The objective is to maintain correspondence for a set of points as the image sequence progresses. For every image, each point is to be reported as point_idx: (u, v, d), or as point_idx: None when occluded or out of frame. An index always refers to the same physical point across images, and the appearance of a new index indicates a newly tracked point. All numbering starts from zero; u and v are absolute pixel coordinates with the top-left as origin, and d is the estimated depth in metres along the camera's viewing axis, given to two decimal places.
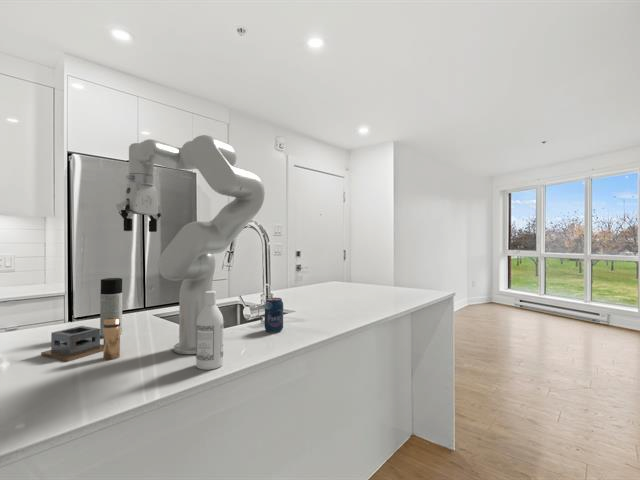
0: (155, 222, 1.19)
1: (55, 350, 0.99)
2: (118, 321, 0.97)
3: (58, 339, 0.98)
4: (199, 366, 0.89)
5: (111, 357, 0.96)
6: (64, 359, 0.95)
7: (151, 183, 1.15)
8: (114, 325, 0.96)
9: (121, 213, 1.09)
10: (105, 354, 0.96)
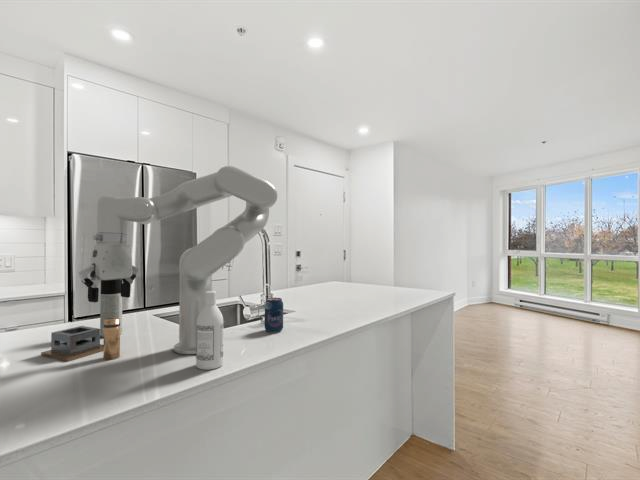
0: (128, 286, 1.01)
1: (55, 350, 0.99)
2: (118, 321, 0.97)
3: (58, 339, 0.98)
4: (199, 366, 0.89)
5: (111, 357, 0.96)
6: (64, 359, 0.95)
7: (123, 243, 0.97)
8: (114, 325, 0.96)
9: (84, 282, 0.91)
10: (105, 354, 0.96)
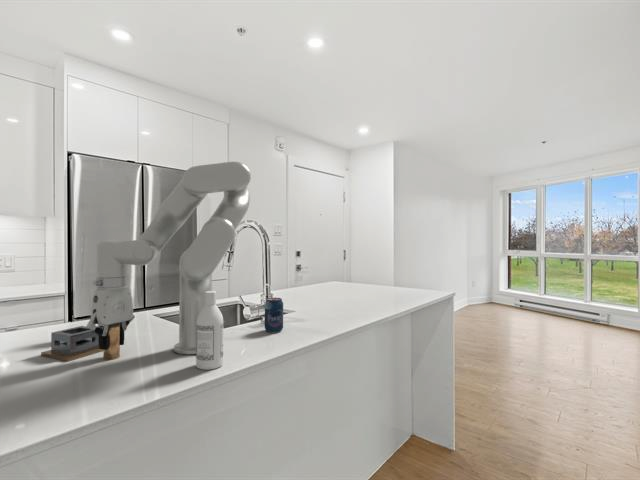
0: (122, 334, 0.99)
1: (55, 350, 0.99)
2: None
3: (58, 339, 0.98)
4: (199, 366, 0.89)
5: (111, 357, 0.96)
6: (64, 359, 0.95)
7: (124, 286, 0.97)
8: (114, 325, 0.96)
9: None
10: (105, 354, 0.96)
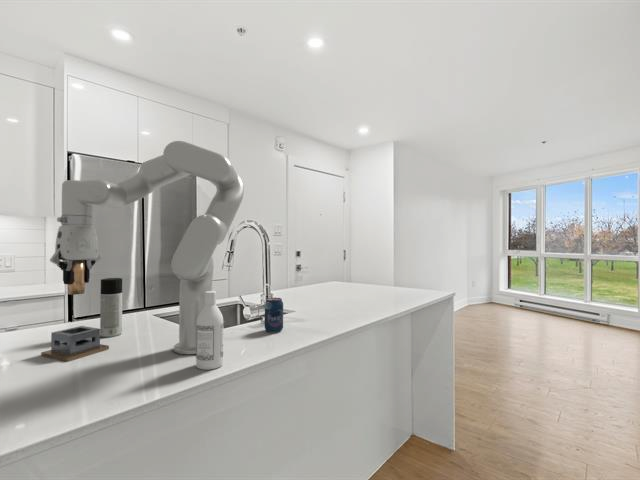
0: (87, 272, 1.03)
1: (55, 350, 0.99)
2: None
3: (58, 339, 0.98)
4: (199, 366, 0.89)
5: (75, 292, 1.00)
6: (64, 359, 0.95)
7: (88, 225, 1.01)
8: (78, 262, 1.01)
9: (60, 265, 0.98)
10: (69, 289, 1.00)
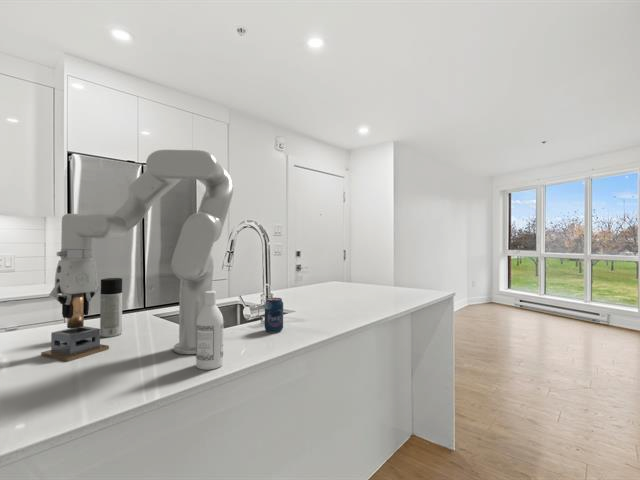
0: (86, 304, 1.03)
1: (55, 350, 0.99)
2: None
3: (58, 339, 0.98)
4: (199, 366, 0.89)
5: (74, 325, 1.00)
6: (64, 359, 0.95)
7: (88, 258, 1.01)
8: (77, 295, 1.01)
9: (60, 300, 0.98)
10: (68, 322, 1.00)
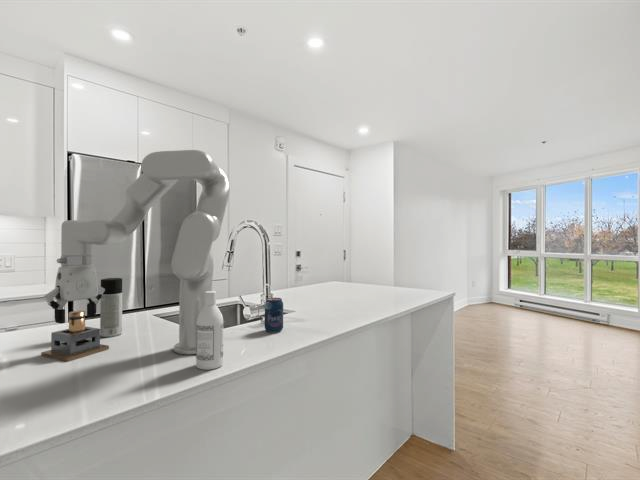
0: (94, 306, 1.05)
1: (55, 350, 0.99)
2: (83, 313, 1.02)
3: (58, 339, 0.98)
4: (199, 366, 0.89)
5: None
6: (64, 359, 0.95)
7: (88, 264, 1.01)
8: (79, 317, 1.01)
9: (51, 305, 0.95)
10: None
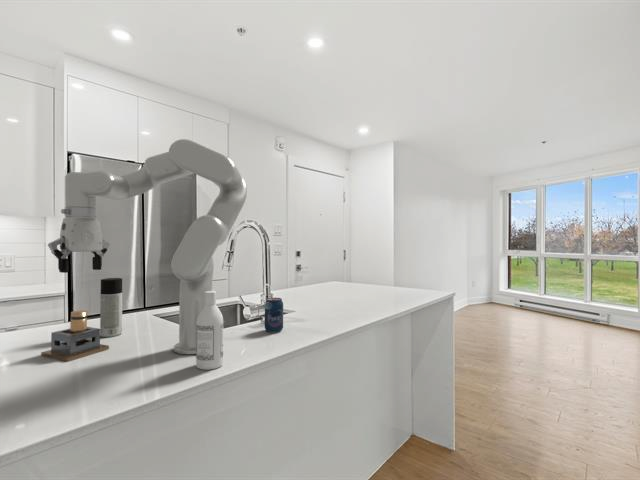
0: (99, 259, 1.06)
1: (55, 350, 0.99)
2: (85, 313, 1.02)
3: (58, 339, 0.98)
4: (199, 366, 0.89)
5: None
6: (64, 359, 0.95)
7: (92, 216, 1.02)
8: (81, 317, 1.01)
9: (54, 253, 0.96)
10: None
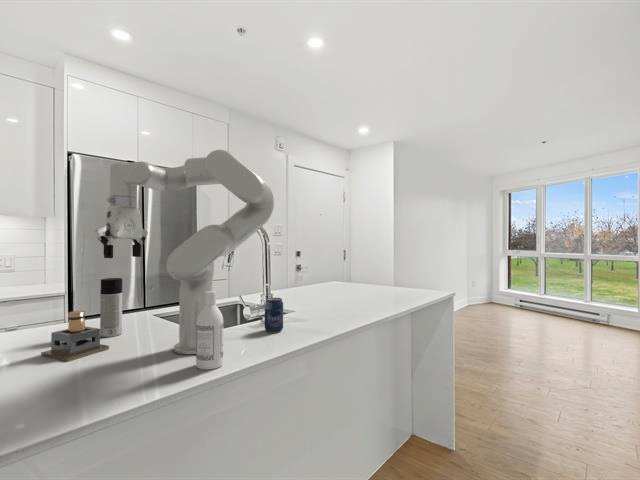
0: (139, 246, 1.11)
1: (55, 350, 0.99)
2: (82, 313, 1.02)
3: (58, 339, 0.98)
4: (199, 366, 0.89)
5: None
6: (64, 359, 0.95)
7: (134, 205, 1.07)
8: (78, 318, 1.01)
9: (100, 239, 1.00)
10: None
